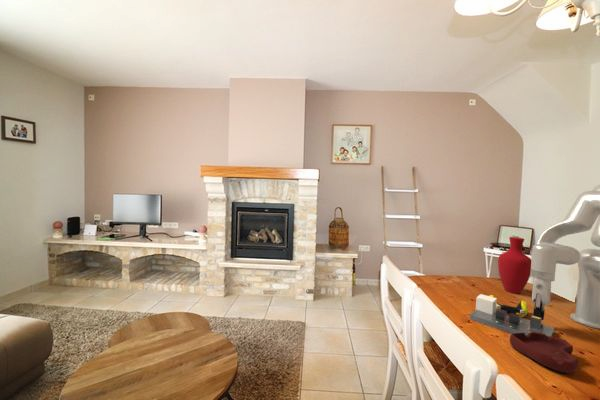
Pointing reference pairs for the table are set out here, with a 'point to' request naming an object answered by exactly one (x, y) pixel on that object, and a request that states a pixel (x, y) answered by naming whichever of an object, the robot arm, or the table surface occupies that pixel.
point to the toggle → (535, 321)
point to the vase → (514, 267)
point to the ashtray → (546, 350)
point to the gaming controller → (514, 308)
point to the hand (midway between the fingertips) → (538, 318)
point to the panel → (506, 325)
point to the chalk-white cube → (486, 304)
